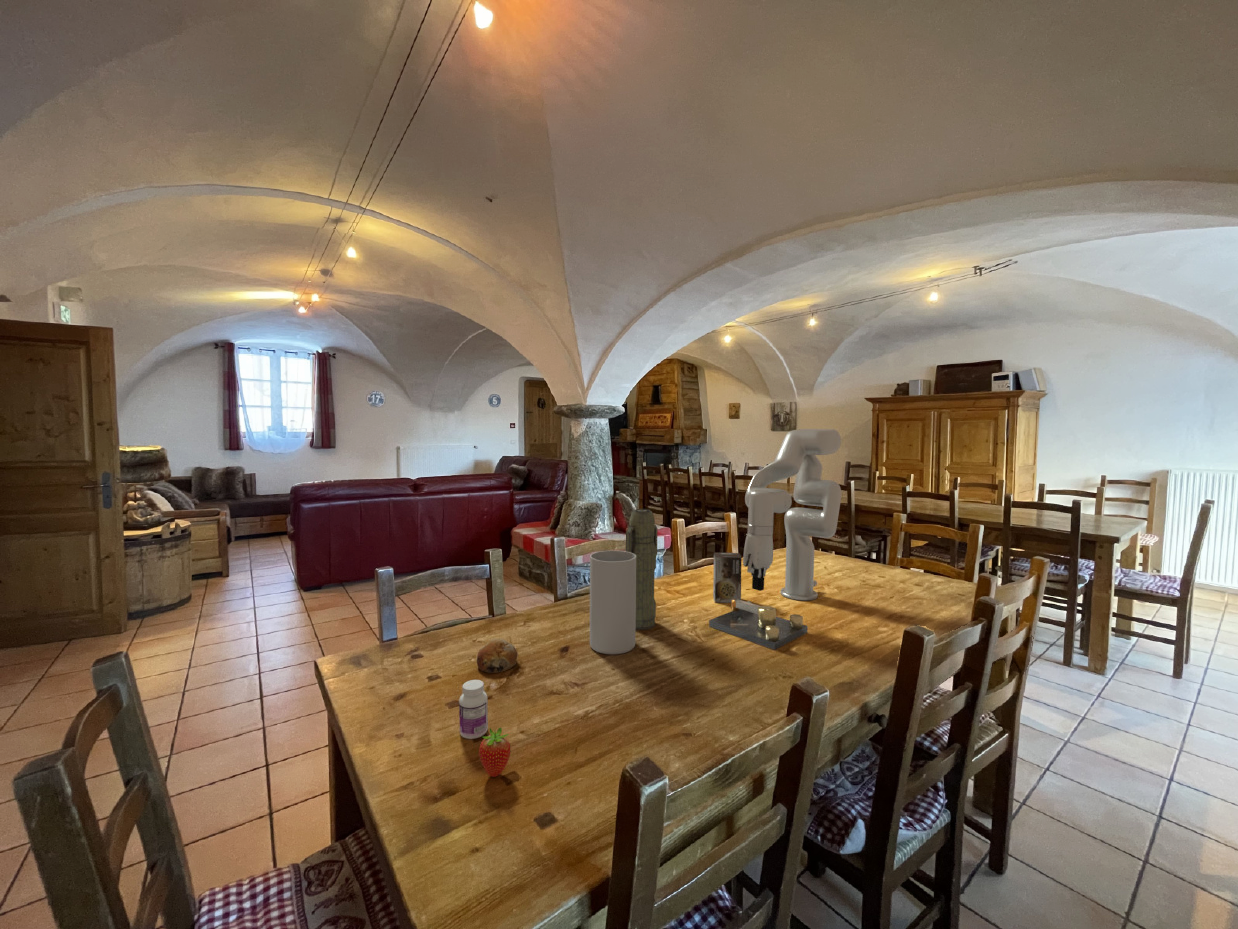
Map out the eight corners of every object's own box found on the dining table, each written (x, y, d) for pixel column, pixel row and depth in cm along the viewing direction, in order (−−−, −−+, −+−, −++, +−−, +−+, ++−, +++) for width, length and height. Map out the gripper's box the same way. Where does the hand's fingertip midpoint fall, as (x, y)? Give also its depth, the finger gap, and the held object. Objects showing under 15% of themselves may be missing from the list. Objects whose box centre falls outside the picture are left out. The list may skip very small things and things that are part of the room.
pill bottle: (462, 724, 104) (462, 678, 103) (489, 723, 104) (489, 677, 103) (456, 740, 98) (456, 691, 98) (485, 739, 99) (484, 690, 98)
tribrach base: (743, 612, 168) (743, 597, 167) (807, 632, 152) (807, 616, 151) (709, 626, 156) (709, 610, 155) (774, 650, 140) (774, 632, 139)
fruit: (473, 780, 87) (472, 734, 87) (491, 761, 92) (490, 718, 92) (500, 788, 85) (499, 741, 85) (517, 769, 90) (516, 725, 90)
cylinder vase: (642, 641, 145) (643, 553, 143) (623, 659, 133) (624, 564, 132) (602, 633, 150) (602, 548, 148) (581, 650, 138) (581, 558, 137)
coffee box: (738, 597, 183) (739, 552, 182) (741, 603, 176) (742, 557, 175) (712, 596, 184) (713, 551, 182) (714, 602, 177) (715, 556, 176)
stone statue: (664, 622, 159) (665, 509, 156) (640, 633, 150) (641, 514, 148) (641, 615, 165) (643, 506, 162) (617, 625, 156) (618, 510, 153)
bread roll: (521, 676, 132) (527, 643, 134) (501, 675, 123) (508, 640, 125) (487, 669, 135) (494, 637, 138) (465, 669, 126) (473, 635, 129)
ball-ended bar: (778, 625, 151) (779, 609, 151) (769, 630, 148) (770, 613, 147) (736, 612, 162) (737, 596, 162) (727, 616, 159) (727, 600, 158)
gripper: (762, 526, 167) (760, 582, 168) (735, 531, 157) (733, 590, 157) (784, 529, 161) (781, 588, 162) (757, 535, 151) (754, 596, 152)
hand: (757, 589), depth 160 cm, fingers closed
